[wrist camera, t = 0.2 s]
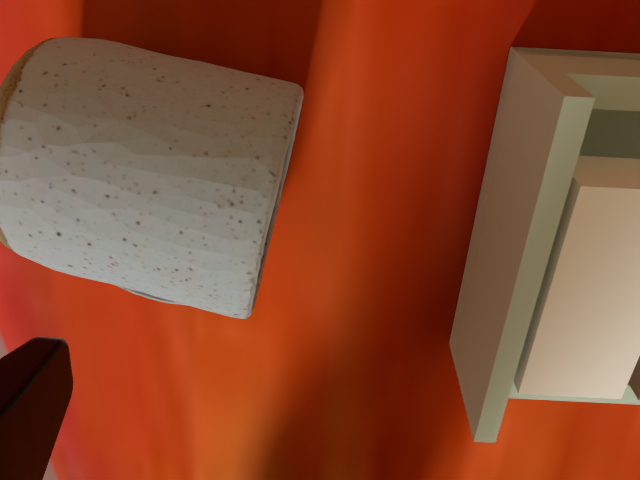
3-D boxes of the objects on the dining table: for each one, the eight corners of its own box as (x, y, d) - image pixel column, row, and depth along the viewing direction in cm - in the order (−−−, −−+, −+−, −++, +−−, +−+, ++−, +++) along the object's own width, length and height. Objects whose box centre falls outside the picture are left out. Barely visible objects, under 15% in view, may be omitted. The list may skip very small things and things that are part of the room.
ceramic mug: (69, 2, 20) (-65, 67, 13) (311, 56, 20) (299, 143, 14) (72, 262, 25) (-22, 398, 19) (262, 297, 26) (237, 441, 19)
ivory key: (596, 354, 23) (621, 399, 21) (502, 349, 23) (518, 394, 21) (669, 160, 19) (709, 192, 17) (554, 154, 19) (580, 186, 17)
